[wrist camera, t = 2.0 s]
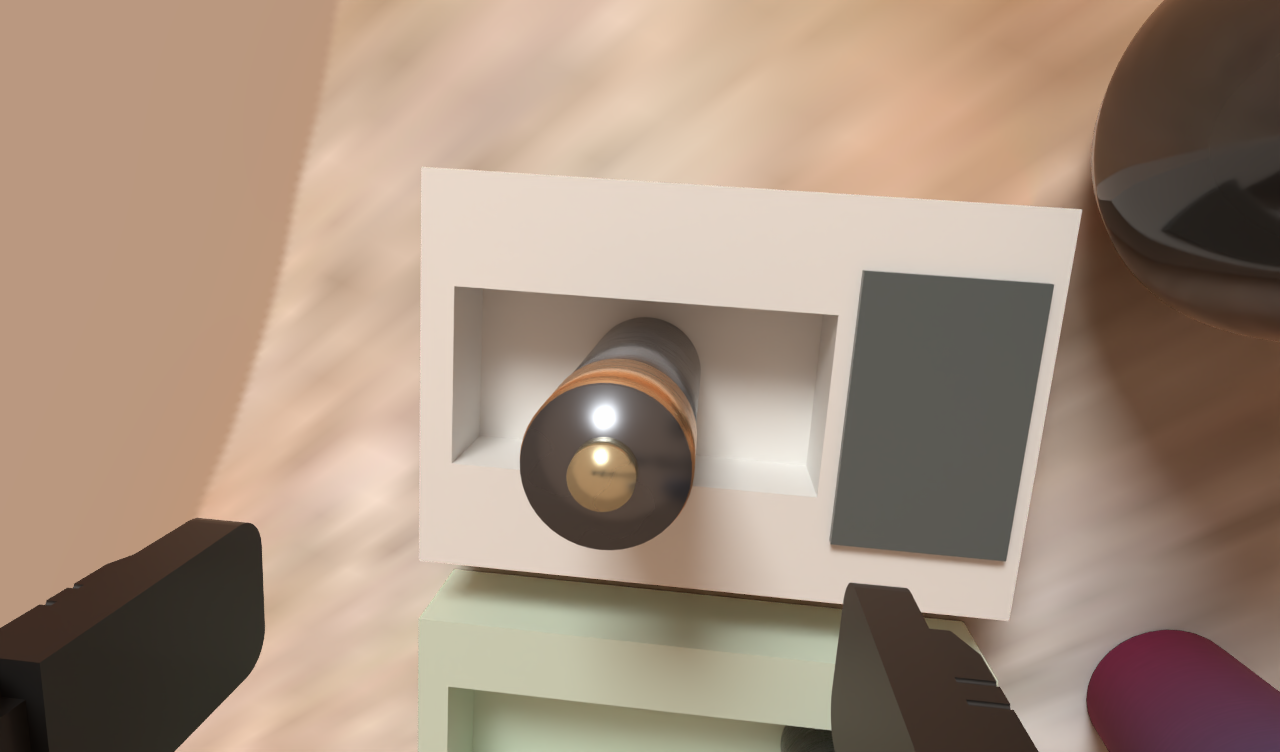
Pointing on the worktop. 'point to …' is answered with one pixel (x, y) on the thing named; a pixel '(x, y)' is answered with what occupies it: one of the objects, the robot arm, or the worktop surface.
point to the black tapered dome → (1198, 161)
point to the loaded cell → (806, 740)
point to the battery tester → (752, 376)
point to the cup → (1181, 698)
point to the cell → (617, 439)
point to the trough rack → (620, 668)
